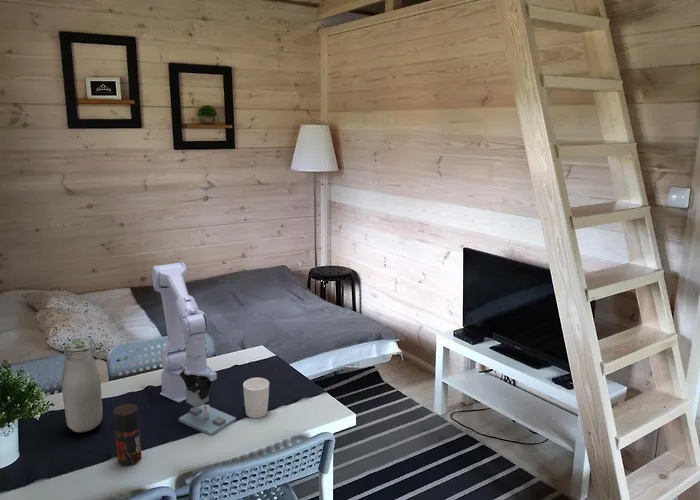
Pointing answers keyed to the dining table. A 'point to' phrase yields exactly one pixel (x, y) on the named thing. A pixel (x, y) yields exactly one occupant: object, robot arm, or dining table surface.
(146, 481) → the dining table surface
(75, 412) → the glass bottle
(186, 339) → the robot arm
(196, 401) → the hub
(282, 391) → the dining table surface
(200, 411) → the shaft base
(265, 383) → the white cup
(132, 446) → the deodorant
